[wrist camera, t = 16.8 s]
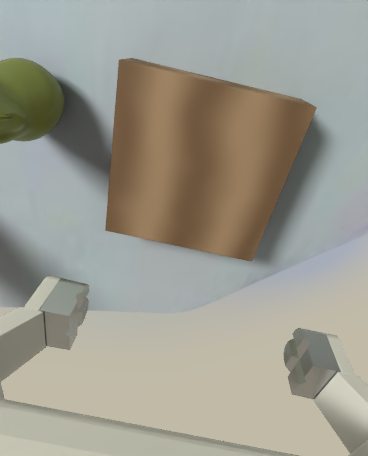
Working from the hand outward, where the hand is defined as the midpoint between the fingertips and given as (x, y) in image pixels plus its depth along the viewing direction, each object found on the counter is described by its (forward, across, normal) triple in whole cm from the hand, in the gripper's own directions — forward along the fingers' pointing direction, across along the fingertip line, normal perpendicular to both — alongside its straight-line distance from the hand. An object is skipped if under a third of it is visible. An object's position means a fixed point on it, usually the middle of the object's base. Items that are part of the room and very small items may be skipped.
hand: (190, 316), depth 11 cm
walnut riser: (+19, 0, 0) cm, 19 cm away
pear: (+19, +15, -2) cm, 24 cm away
